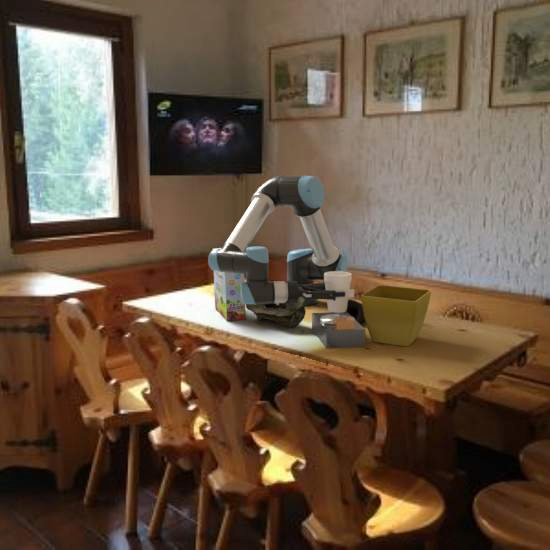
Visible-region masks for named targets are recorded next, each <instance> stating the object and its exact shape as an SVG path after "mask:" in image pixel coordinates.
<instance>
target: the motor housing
mask: <svg viewBox="0 0 550 550" xmlns="http://www.w3.org/2000/svg"><path fill="white" fill-rule="evenodd" d="M311 329H312V331H313V332H314V334H315V335H316V336H317V338H318V339H319V341H320V342H321V343H322V344H323V346H324V348H326V349H344V348H365V346H366V342H365V341H366V329H365V328H364V327H363V326H362V325H361V324H360V323H358V322H357V321H356V320H355V318H354V317H352V316H351V315H350V314H349V313H348V312H341V313H335V312H330V311H328V312H311Z"/></svg>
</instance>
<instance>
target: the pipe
mask: <svg viewBox="0 0 550 550" xmlns="http://www.w3.org/2000/svg"><path fill="white" fill-rule="evenodd" d="M346 312H348V313H349V314H350V315H351V316H352V317H354V318H355V320H356V321H357V322H358V323H359V324H360V323H362V322H364V321H365V317H364V312H363V306H362V302H358V301H356V300H354V299H349V298H348V304H347V310H346Z"/></svg>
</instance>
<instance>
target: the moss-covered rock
mask: <svg viewBox="0 0 550 550" xmlns="http://www.w3.org/2000/svg"><path fill="white" fill-rule="evenodd" d="M298 299H299V300H298V302H297V303H287V301H286V302H285V303H279V305H277V304H275V303H274V304H256V305H254V304H245V309H246V310H247V311H251V312H252V313H253V315H255V316H256V318H257V321H263V320H270V321H274V322H276V323H277V324H280V325H283V326H286V327H289V328H292V329H295V328H296V327H298V326H299V325H300V324H301V322H303V321H304V319H305V315H306V312H307V311H306V310H307V309H306V306H302V304H303V303H304V301H305V299H304V297H299V298H298Z"/></svg>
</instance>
